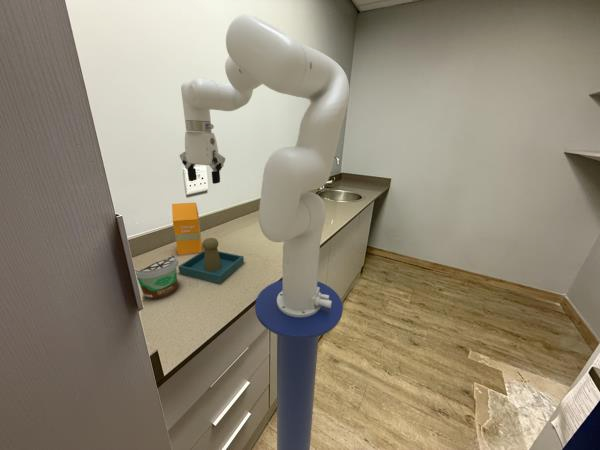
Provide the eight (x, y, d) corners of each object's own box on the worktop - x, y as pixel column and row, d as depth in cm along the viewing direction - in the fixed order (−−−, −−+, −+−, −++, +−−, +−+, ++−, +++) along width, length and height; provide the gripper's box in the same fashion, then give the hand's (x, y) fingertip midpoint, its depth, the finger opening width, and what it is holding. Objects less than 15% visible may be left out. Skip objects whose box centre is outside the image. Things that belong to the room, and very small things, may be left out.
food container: (152, 307, 67) (145, 276, 64) (139, 300, 70) (132, 270, 66) (190, 285, 77) (186, 257, 74) (177, 280, 80) (173, 252, 77)
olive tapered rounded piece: (225, 266, 88) (222, 238, 84) (211, 273, 83) (208, 244, 80) (214, 261, 91) (211, 234, 87) (200, 268, 86) (196, 240, 83)
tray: (243, 263, 92) (243, 256, 91) (220, 284, 79) (219, 276, 78) (207, 255, 96) (206, 248, 95) (179, 273, 83) (178, 266, 82)
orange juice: (180, 246, 103) (172, 201, 96) (202, 244, 106) (196, 200, 99) (177, 255, 96) (170, 206, 89) (201, 252, 99) (196, 205, 92)
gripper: (229, 128, 77) (232, 182, 83) (185, 127, 82) (191, 177, 88) (214, 128, 71) (219, 186, 77) (167, 126, 76) (175, 181, 82)
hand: (204, 181), depth 83 cm, fingers open, 9 cm apart
